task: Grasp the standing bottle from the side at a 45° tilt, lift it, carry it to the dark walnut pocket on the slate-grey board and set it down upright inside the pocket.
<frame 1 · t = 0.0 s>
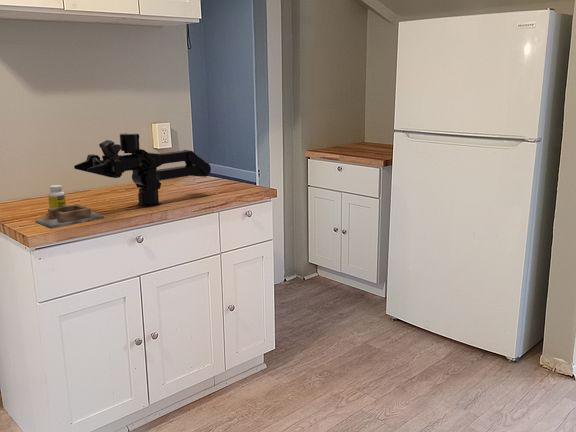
hand: (80, 168, 186), 17 cm above the counter, tool horizontal, fingers open, 9 cm apart
supplement bottle: (58, 213, 195), on the counter
pocket: (70, 219, 186), on the counter
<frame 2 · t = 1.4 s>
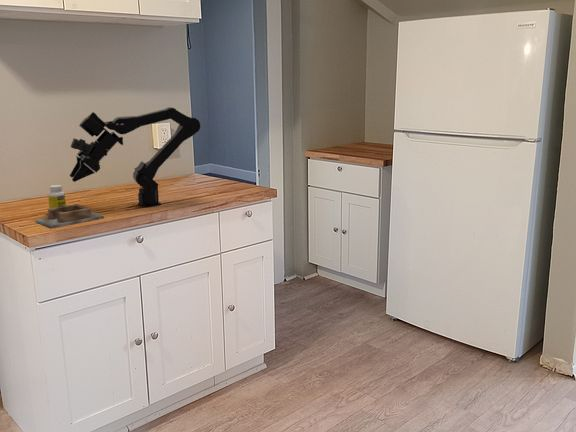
hand: (71, 178, 195), 12 cm above the counter, tool tilted 45°, fingers open, 9 cm apart
nothing on the counter moved.
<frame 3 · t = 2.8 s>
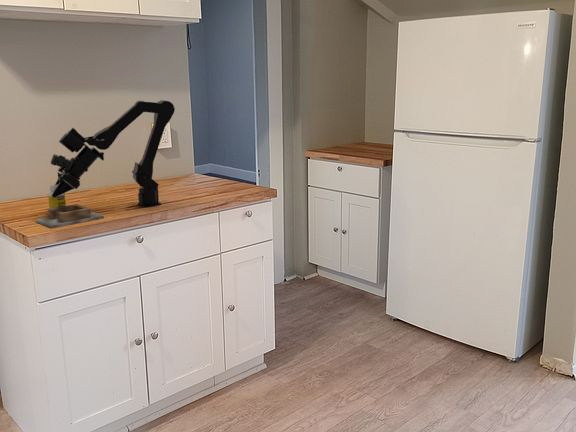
hand: (52, 195, 193), 7 cm above the counter, tool tilted 45°, fingers closed on supplement bottle, 5 cm apart
supplement bottle: (58, 213, 195), on the counter, touching gripper
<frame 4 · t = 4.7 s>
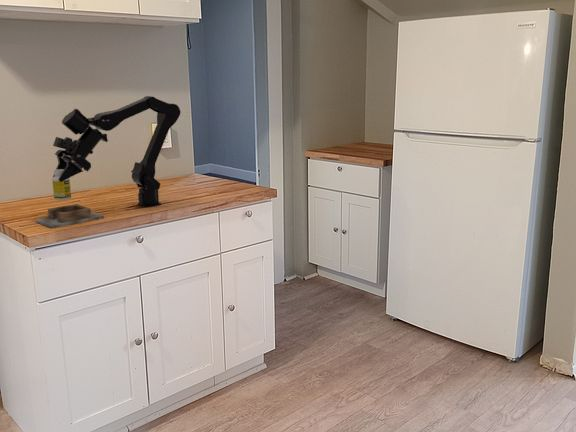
hand: (56, 179, 185), 13 cm above the counter, tool tilted 45°, fingers closed on supplement bottle, 5 cm apart
supplement bottle: (63, 199, 187), point 6 cm above the counter, touching gripper
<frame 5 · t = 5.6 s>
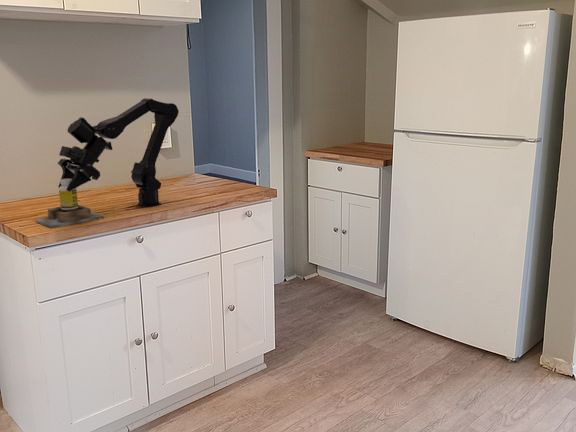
hand: (63, 189, 183), 11 cm above the counter, tool tilted 45°, fingers closed on supplement bottle, 5 cm apart
supplement bottle: (69, 209, 185), point 4 cm above the counter, touching gripper
when the fingers open (8 cm above the counter, at t = 6.4 s): supplement bottle stays where it is, resting on pocket.
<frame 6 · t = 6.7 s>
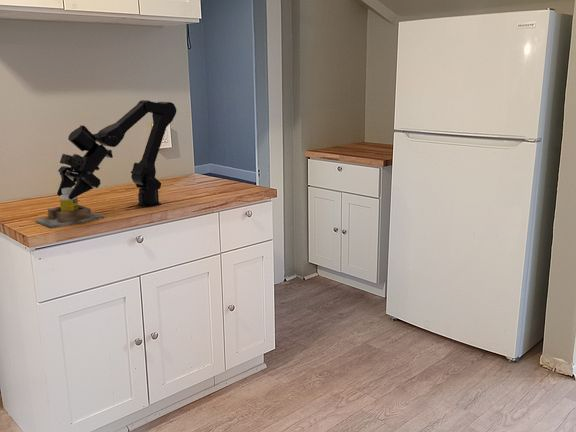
hand: (63, 197, 183), 8 cm above the counter, tool tilted 45°, fingers open, 8 cm apart
supplement bottle: (70, 218, 186), point 1 cm above the counter, touching pocket
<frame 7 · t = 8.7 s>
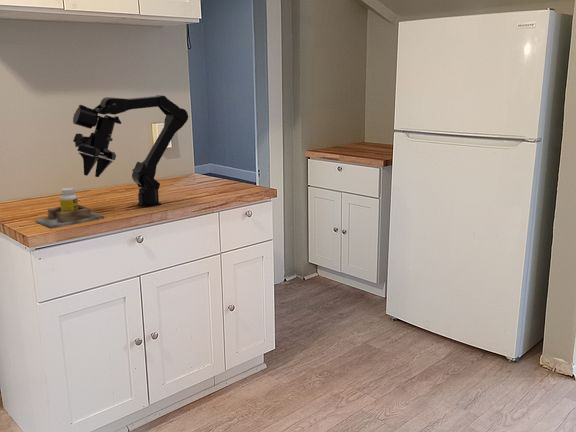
hand: (91, 176, 193), 13 cm above the counter, tool tilted 20°, fingers open, 9 cm apart
nothing on the counter moved.
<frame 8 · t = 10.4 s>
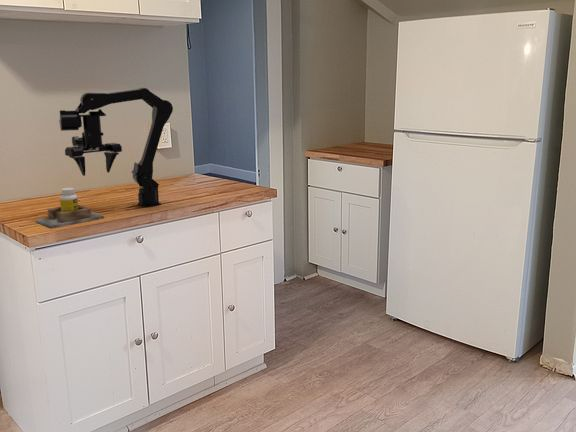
hand: (96, 174, 197), 13 cm above the counter, tool pointing down, fingers open, 9 cm apart
nothing on the counter moved.
at the end: supplement bottle 0.2 cm off-centre on the pocket, point 0.6 cm above the pocket's base; supplement bottle tilted 0°; the gripper is holding nothing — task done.
